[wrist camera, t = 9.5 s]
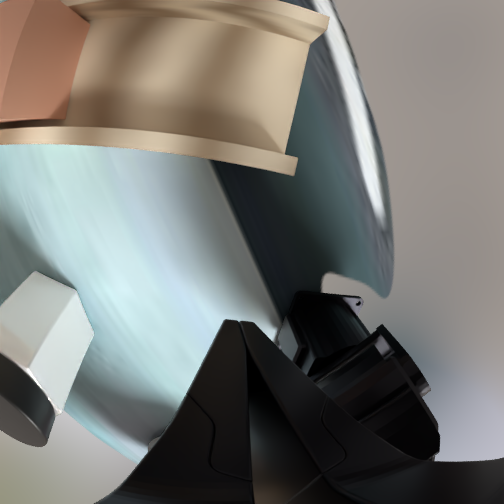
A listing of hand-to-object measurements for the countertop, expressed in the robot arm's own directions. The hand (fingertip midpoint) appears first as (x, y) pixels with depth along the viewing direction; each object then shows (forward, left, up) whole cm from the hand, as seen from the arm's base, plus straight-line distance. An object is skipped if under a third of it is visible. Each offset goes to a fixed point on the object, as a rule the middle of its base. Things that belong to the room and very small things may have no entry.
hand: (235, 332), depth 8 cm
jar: (+14, +11, -12) cm, 22 cm away
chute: (+8, -9, -12) cm, 17 cm away
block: (+15, -9, -11) cm, 21 cm away
